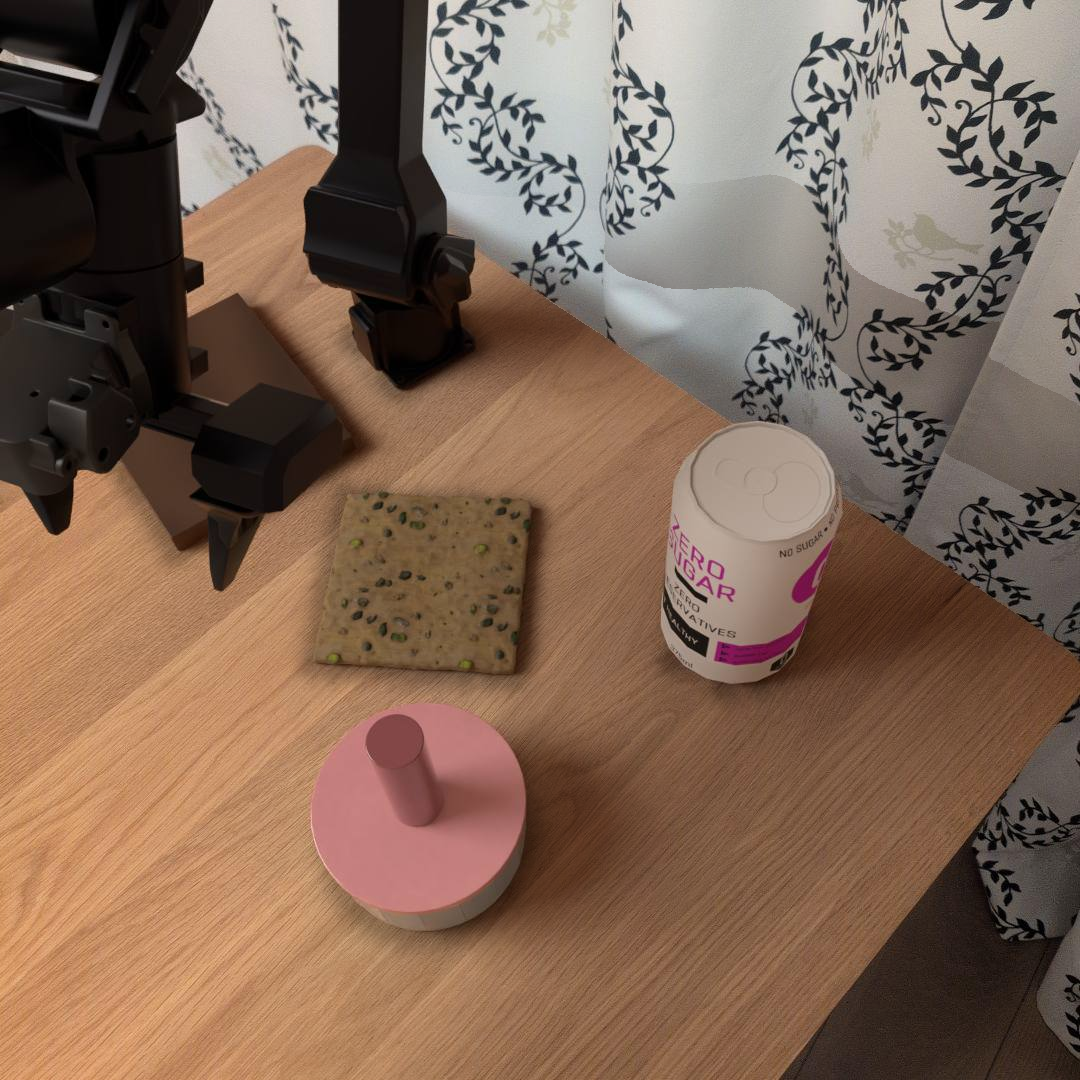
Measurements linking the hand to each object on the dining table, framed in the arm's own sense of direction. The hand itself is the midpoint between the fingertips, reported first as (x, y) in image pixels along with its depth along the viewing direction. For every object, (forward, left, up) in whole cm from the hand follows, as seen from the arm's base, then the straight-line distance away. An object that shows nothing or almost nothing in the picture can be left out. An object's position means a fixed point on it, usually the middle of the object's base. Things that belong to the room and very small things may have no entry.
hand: (140, 558), depth 55 cm
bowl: (-5, +15, -14) cm, 21 cm away
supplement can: (-26, +15, -14) cm, 33 cm away
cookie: (-13, +2, -14) cm, 19 cm away
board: (-9, -18, -14) cm, 24 cm away
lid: (-5, +15, -9) cm, 18 cm away
